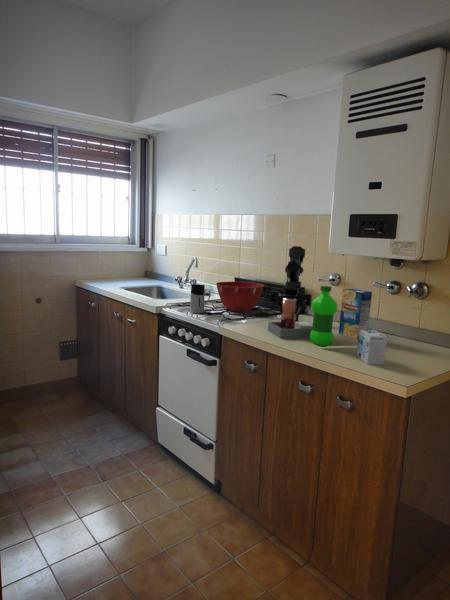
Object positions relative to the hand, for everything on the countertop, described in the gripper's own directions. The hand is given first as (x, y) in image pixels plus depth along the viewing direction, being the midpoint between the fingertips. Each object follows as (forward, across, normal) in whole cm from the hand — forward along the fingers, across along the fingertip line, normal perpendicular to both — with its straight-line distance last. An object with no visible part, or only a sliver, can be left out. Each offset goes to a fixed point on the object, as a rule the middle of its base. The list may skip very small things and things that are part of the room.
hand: (288, 313), depth 189 cm
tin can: (+4, 0, +6) cm, 7 cm away
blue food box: (0, +29, +16) cm, 33 cm away
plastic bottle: (+14, +15, +1) cm, 21 cm away
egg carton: (+3, +8, +10) cm, 13 cm away
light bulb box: (+25, +33, -10) cm, 43 cm away
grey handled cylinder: (-18, -51, +34) cm, 64 cm away
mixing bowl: (-31, -33, +48) cm, 66 cm away
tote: (+6, +3, +10) cm, 12 cm away
